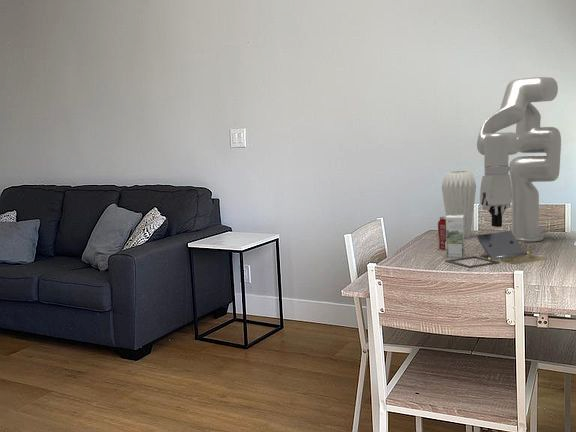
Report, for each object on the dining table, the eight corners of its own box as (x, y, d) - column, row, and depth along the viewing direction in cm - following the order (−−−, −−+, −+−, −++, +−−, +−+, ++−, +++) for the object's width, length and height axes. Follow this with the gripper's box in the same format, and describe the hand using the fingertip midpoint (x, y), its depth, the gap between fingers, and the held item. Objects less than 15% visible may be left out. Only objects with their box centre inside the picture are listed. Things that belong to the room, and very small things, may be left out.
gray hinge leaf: (509, 232, 209) (511, 229, 208) (525, 257, 203) (527, 254, 202) (476, 236, 203) (478, 234, 202) (492, 262, 197) (494, 259, 196)
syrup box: (465, 256, 208) (464, 214, 207) (464, 259, 203) (463, 216, 201) (447, 256, 210) (446, 214, 208) (446, 259, 205) (445, 216, 203)
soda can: (458, 252, 216) (457, 218, 214) (438, 252, 217) (438, 219, 216) (457, 248, 222) (456, 216, 221) (438, 248, 224) (437, 216, 222)
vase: (458, 241, 237) (457, 173, 234) (435, 237, 249) (434, 172, 246) (484, 237, 243) (483, 171, 240) (460, 233, 255) (459, 170, 252)
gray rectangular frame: (474, 259, 202) (474, 256, 202) (499, 265, 191) (499, 261, 191) (445, 264, 198) (445, 260, 197) (469, 270, 187) (469, 266, 187)
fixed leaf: (528, 255, 204) (528, 251, 204) (553, 260, 194) (553, 256, 194) (485, 262, 197) (485, 257, 197) (509, 267, 188) (509, 262, 187)
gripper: (506, 169, 208) (506, 223, 210) (470, 172, 202) (471, 227, 204) (522, 170, 201) (522, 225, 203) (486, 172, 195) (486, 229, 197)
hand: (496, 226), depth 204 cm, fingers closed
